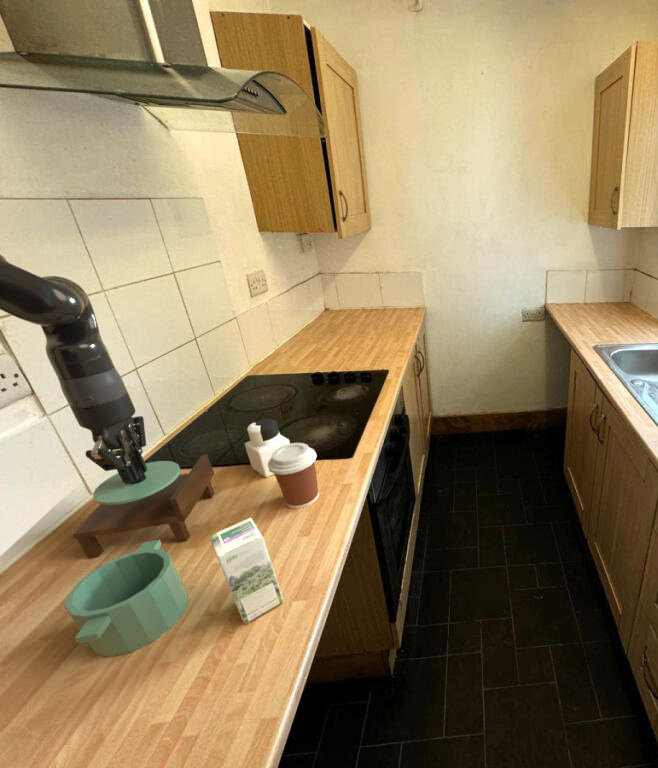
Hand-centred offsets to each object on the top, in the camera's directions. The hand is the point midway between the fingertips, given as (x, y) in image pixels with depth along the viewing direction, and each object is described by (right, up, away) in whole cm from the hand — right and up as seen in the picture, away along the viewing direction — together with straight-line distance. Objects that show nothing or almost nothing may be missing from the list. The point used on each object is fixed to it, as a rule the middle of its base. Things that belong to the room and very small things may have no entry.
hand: (136, 476), depth 79 cm
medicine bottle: (+14, -3, +22) cm, 26 cm away
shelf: (0, -10, +5) cm, 11 cm away
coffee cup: (+26, -7, +11) cm, 29 cm away
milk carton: (+31, -18, -12) cm, 38 cm away
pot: (+14, -19, -15) cm, 28 cm away
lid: (0, -1, +1) cm, 1 cm away
